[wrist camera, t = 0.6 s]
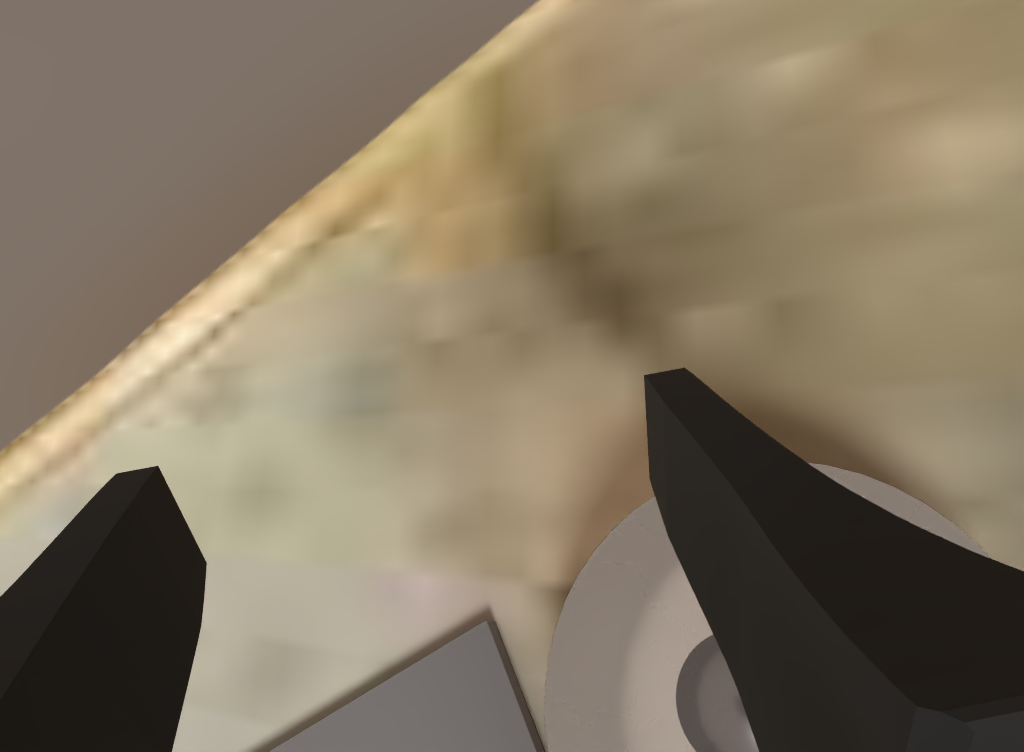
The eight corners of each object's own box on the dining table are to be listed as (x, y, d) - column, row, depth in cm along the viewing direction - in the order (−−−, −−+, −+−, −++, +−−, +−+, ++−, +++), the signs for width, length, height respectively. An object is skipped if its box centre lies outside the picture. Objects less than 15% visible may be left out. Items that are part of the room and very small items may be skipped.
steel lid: (1231, 870, 17) (1279, 898, 14) (684, 1097, 20) (631, 1159, 17) (854, 382, 24) (835, 332, 21) (492, 602, 27) (431, 586, 24)
